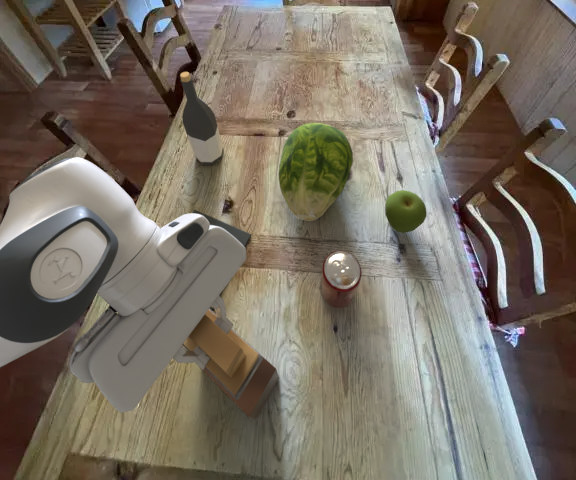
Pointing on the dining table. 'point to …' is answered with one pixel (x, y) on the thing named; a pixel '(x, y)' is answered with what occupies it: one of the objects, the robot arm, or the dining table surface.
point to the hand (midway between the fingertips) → (217, 344)
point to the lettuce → (314, 169)
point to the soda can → (340, 278)
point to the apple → (405, 211)
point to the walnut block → (254, 389)
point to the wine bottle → (200, 125)
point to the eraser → (224, 354)
